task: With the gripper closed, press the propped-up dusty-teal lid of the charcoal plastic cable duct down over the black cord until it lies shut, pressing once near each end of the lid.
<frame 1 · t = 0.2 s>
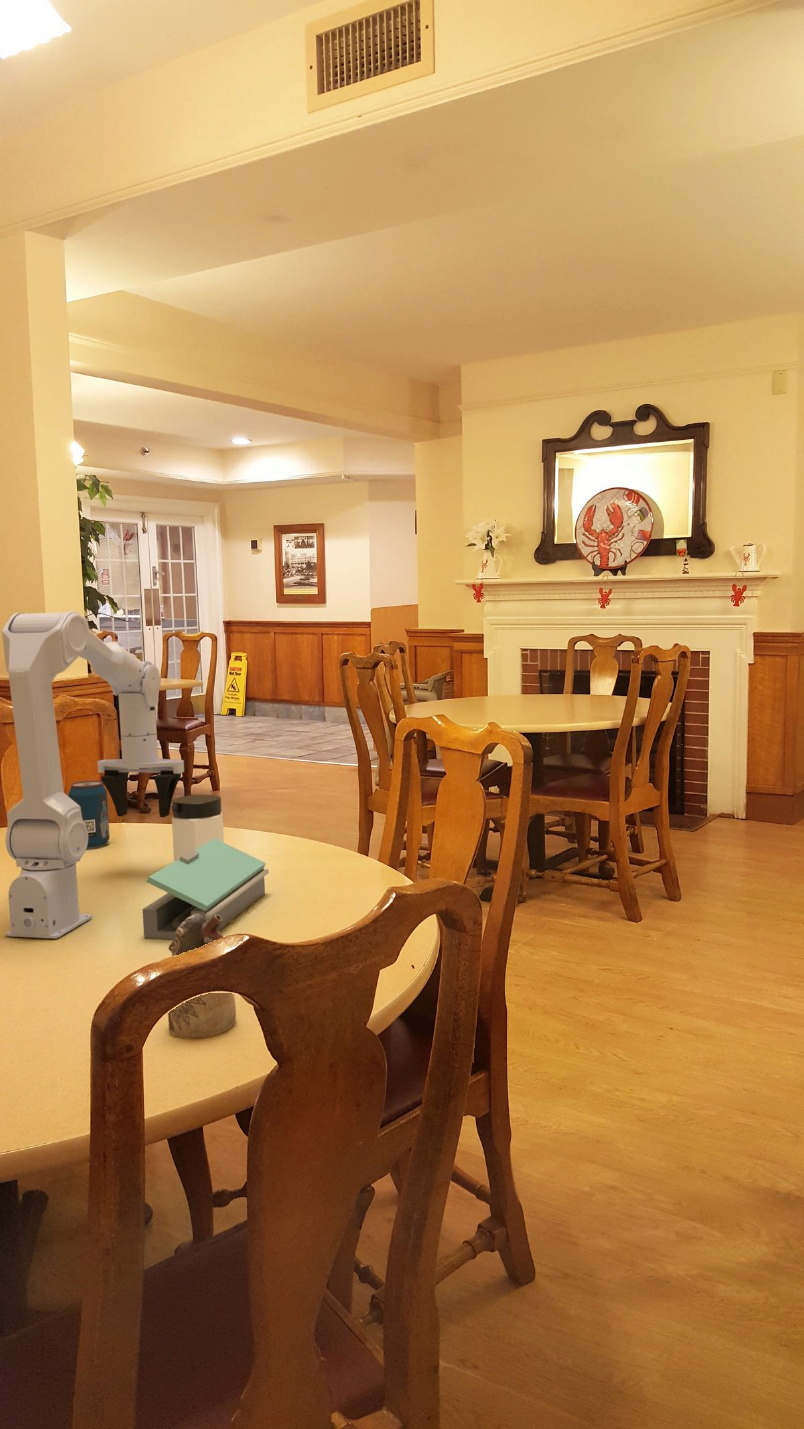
hand: (143, 815, 165), 10 cm above the table, tool pointing down, fingers open, 7 cm apart
figurine: (202, 1026, 105), on the table
soda can: (91, 846, 188), on the table
cable duct: (208, 914, 143), on the table
jar: (200, 869, 169), on the table
duct lid: (211, 870, 143), point 7 cm above the table, hinge at 24.0°
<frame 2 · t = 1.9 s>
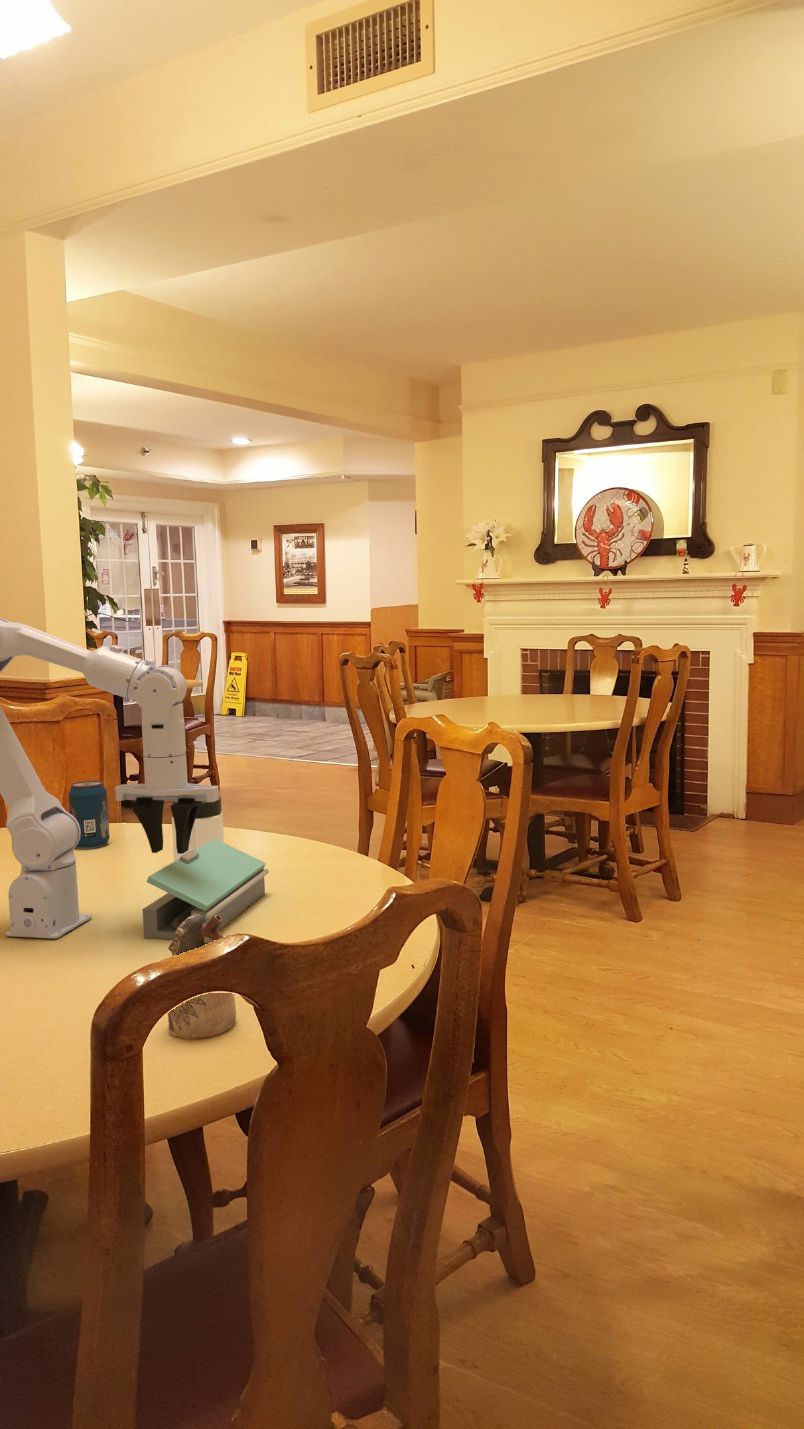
hand: (170, 851, 138), 10 cm above the table, tool pointing down, fingers open, 3 cm apart
nothing on the table moved.
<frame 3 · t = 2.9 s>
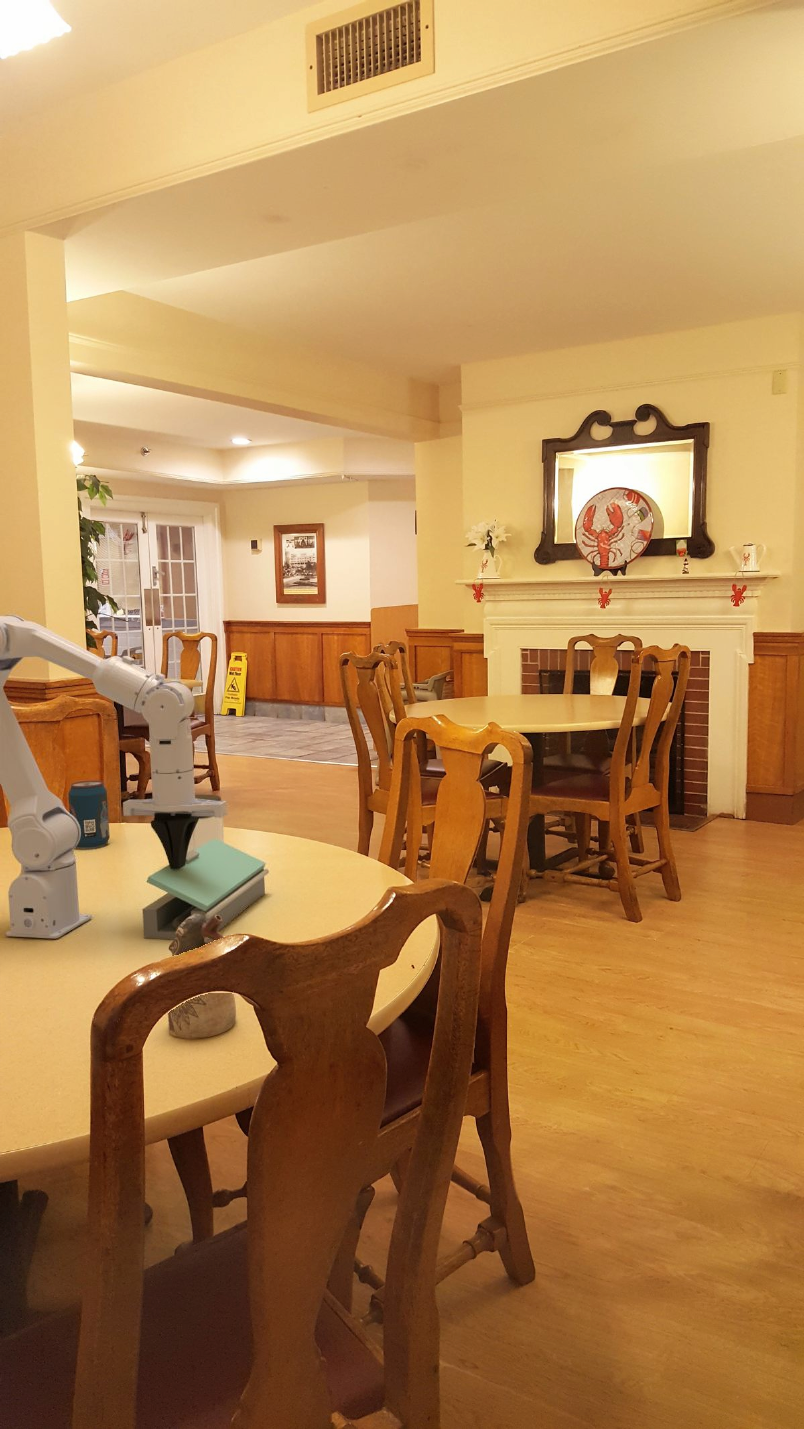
hand: (177, 867, 138), 8 cm above the table, tool pointing down, fingers closed
nothing on the table moved.
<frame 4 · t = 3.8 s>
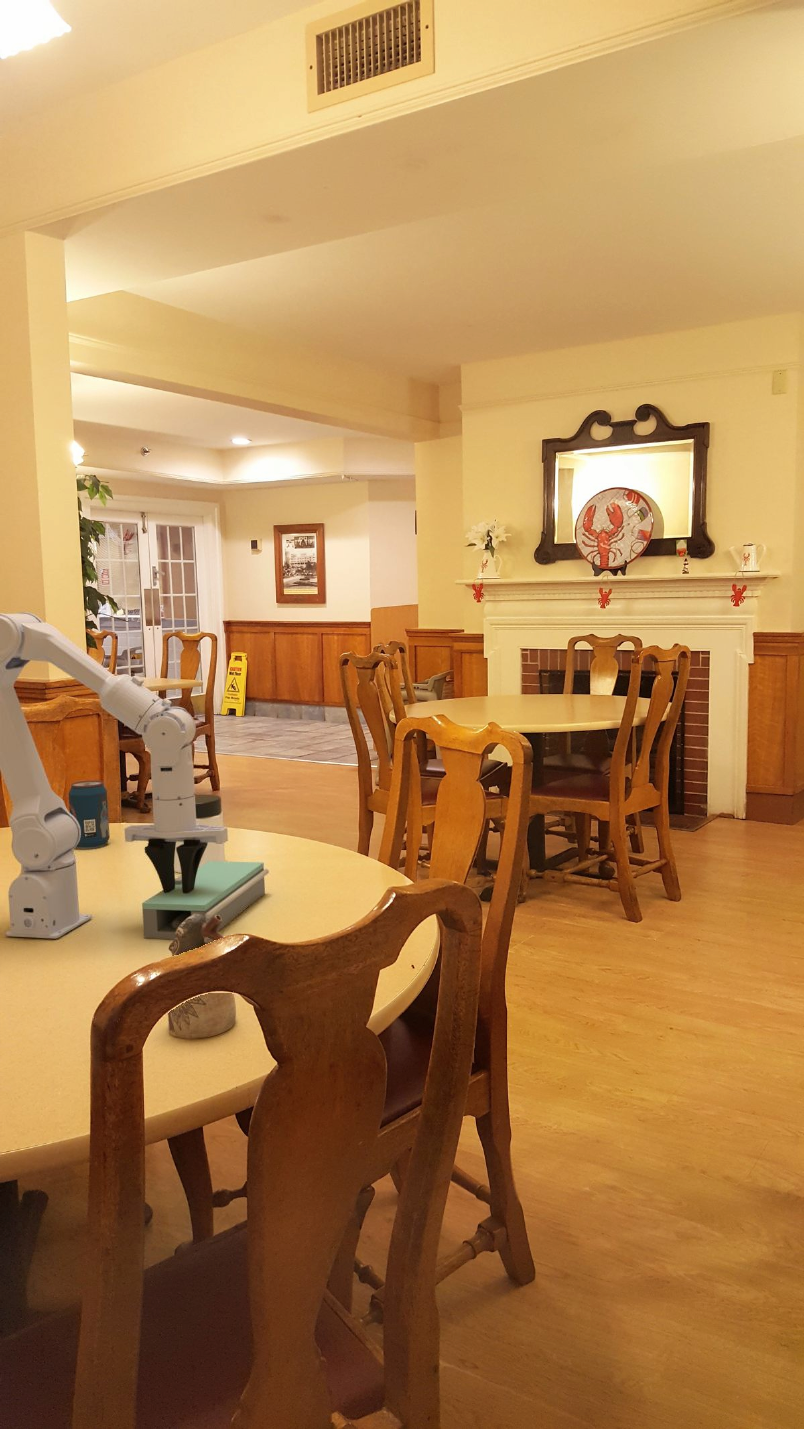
hand: (179, 892, 139), 5 cm above the table, tool pointing down, fingers closed on duct lid, 2 cm apart
duct lid: (206, 882, 143), point 5 cm above the table, hinge at -0.5°, touching gripper
everything else where it was.
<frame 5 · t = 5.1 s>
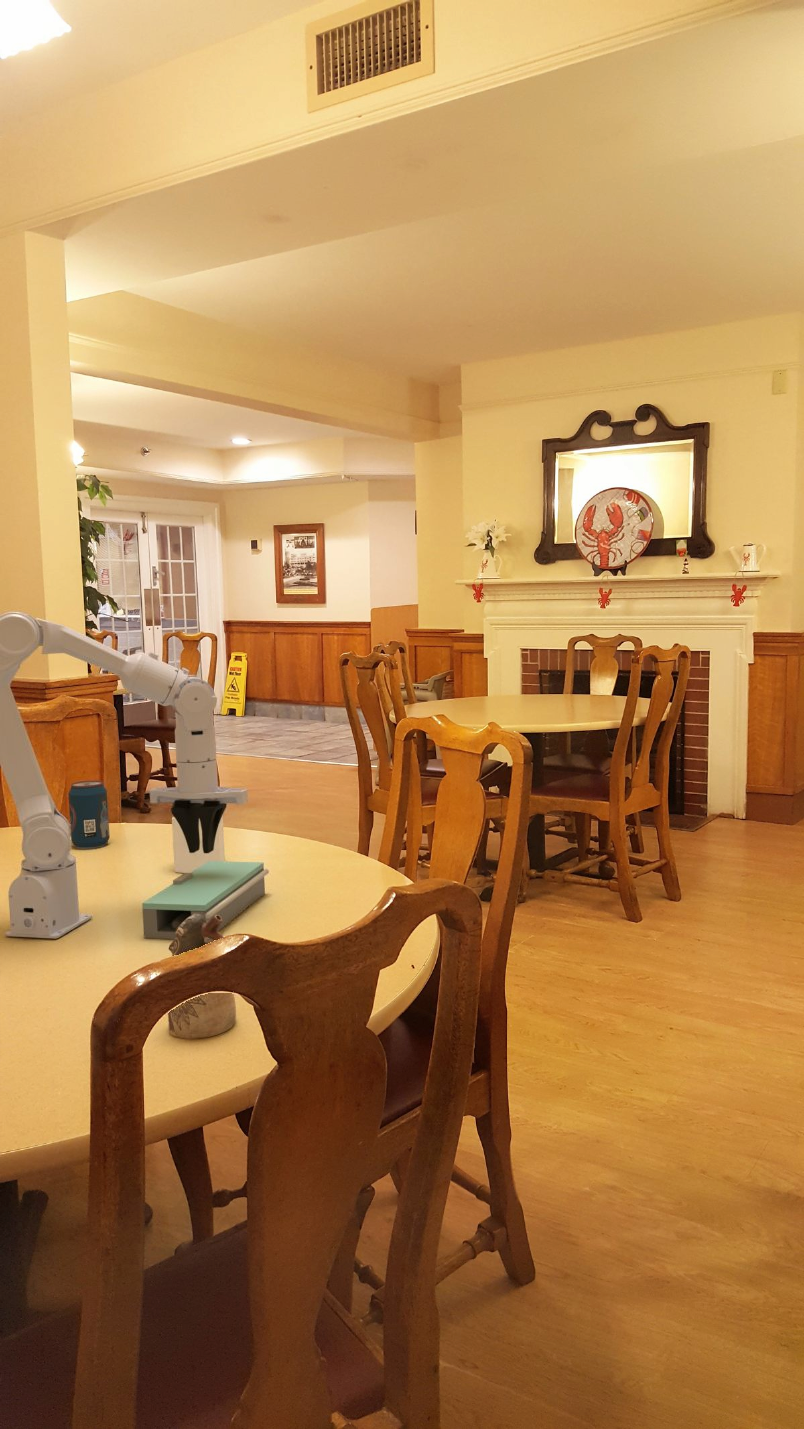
hand: (201, 851, 146), 8 cm above the table, tool pointing down, fingers closed
duct lid: (206, 882, 143), point 5 cm above the table, hinge at -0.5°
everything else where it was.
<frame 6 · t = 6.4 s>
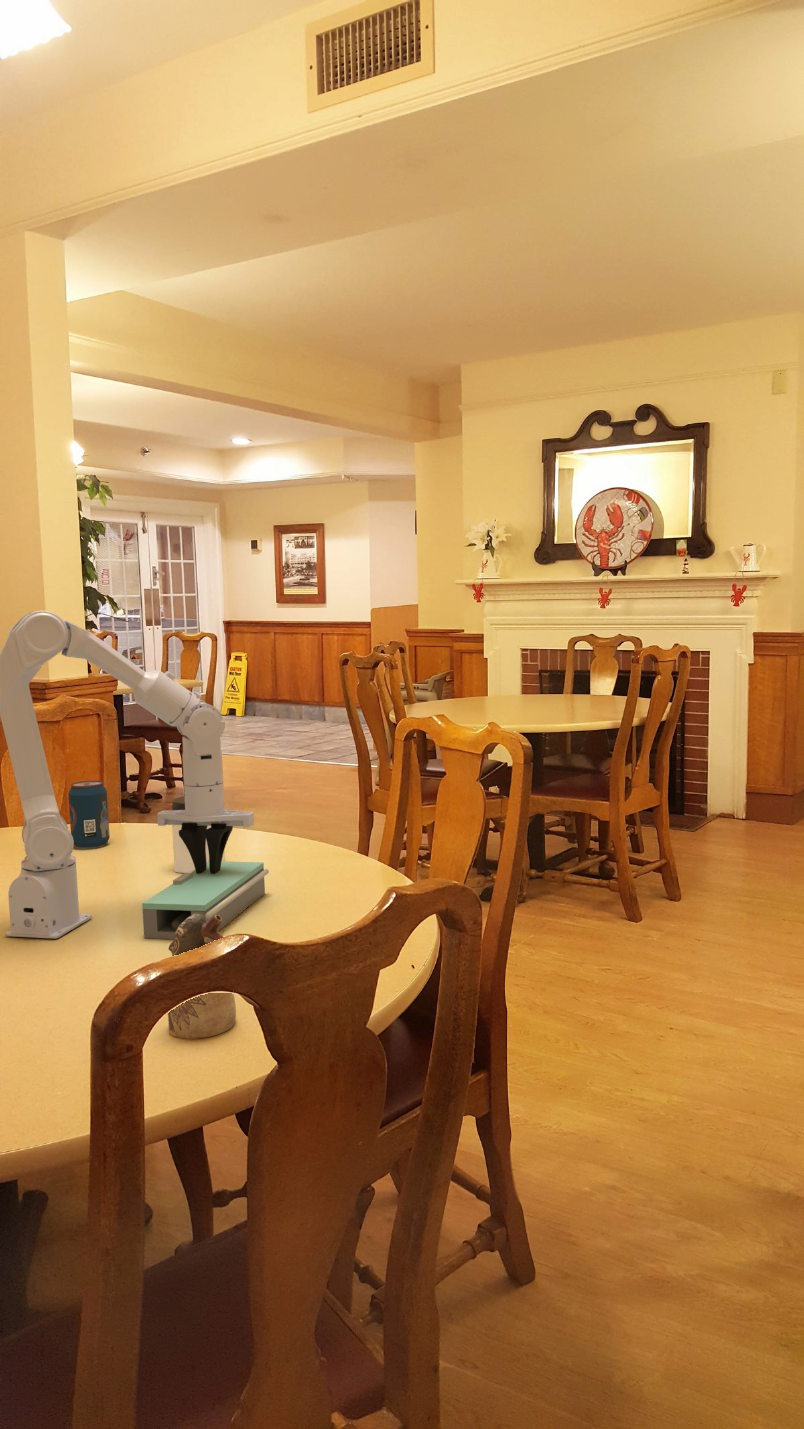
hand: (208, 873, 148), 5 cm above the table, tool pointing down, fingers closed on duct lid, 2 cm apart
duct lid: (206, 882, 143), point 5 cm above the table, hinge at -0.5°, touching gripper
everything else where it was.
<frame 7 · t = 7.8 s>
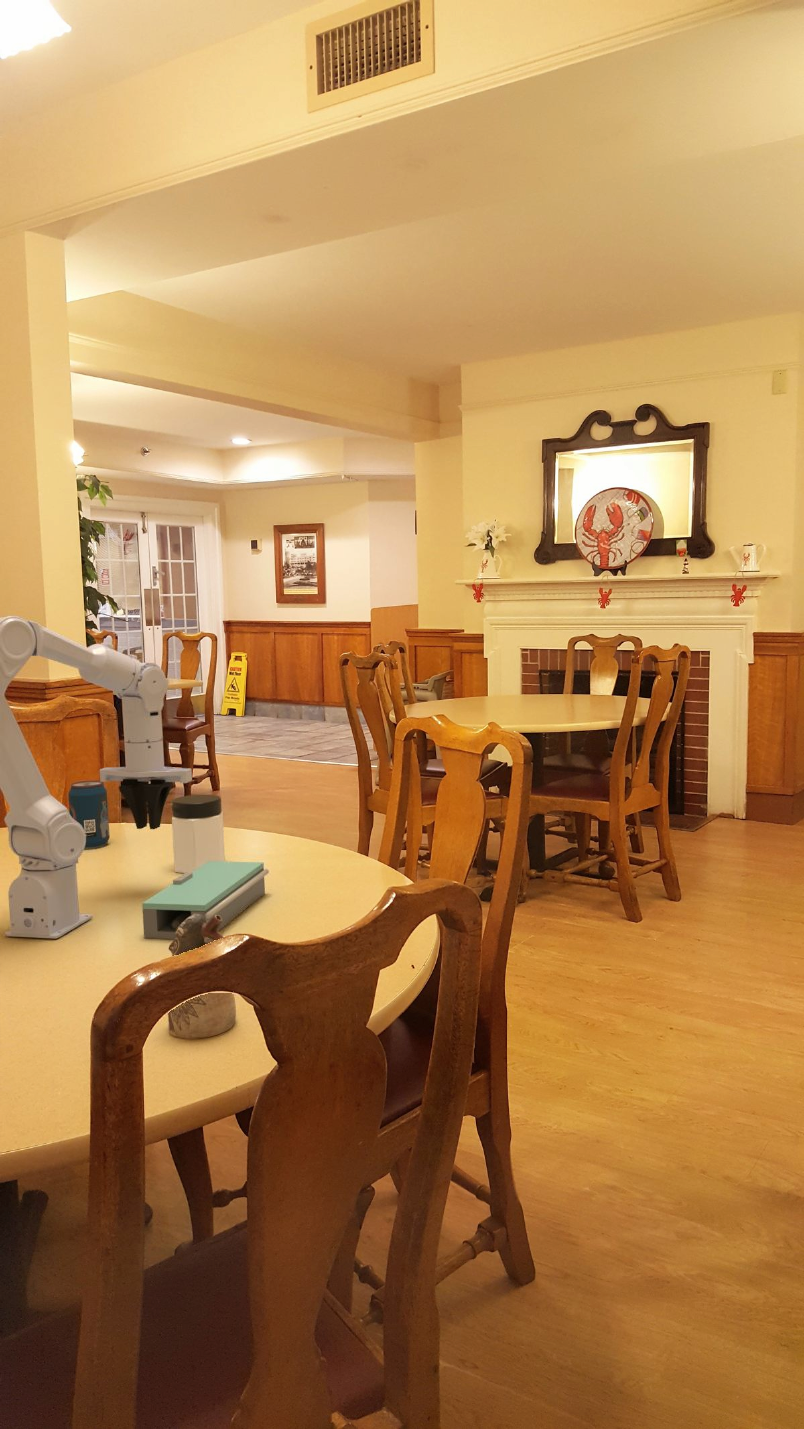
hand: (148, 827, 154), 10 cm above the table, tool pointing down, fingers closed
duct lid: (206, 882, 143), point 5 cm above the table, hinge at -0.5°
everything else where it was.
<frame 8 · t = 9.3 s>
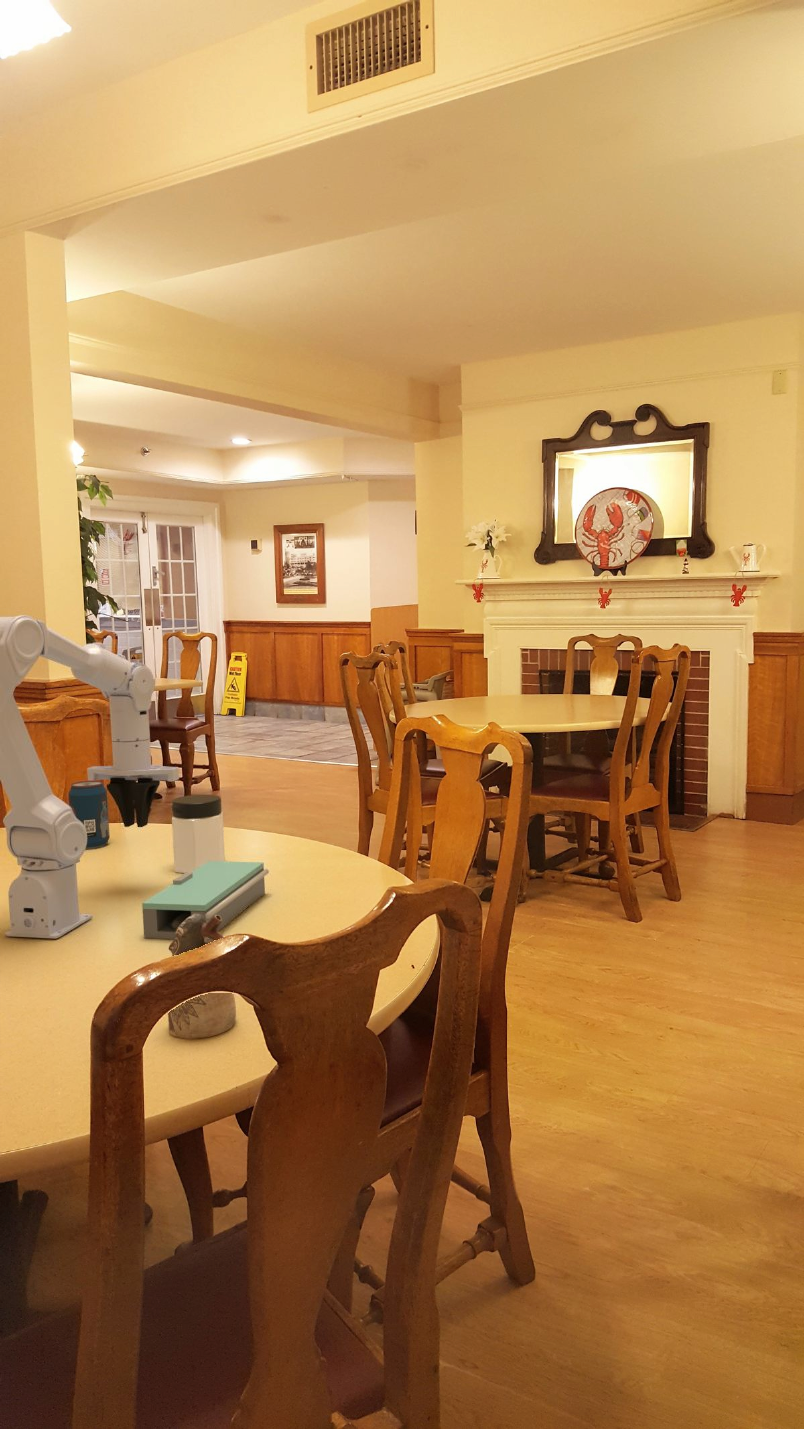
hand: (135, 825, 156), 10 cm above the table, tool pointing down, fingers closed
nothing on the table moved.
at the end: duct lid at +0° (first picture: +24°) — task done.
